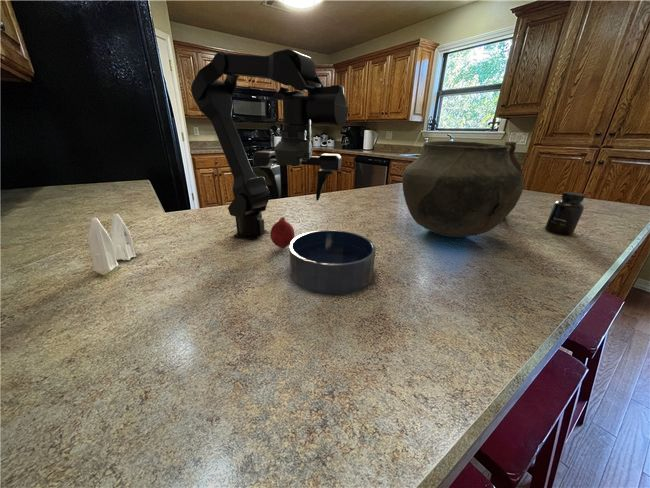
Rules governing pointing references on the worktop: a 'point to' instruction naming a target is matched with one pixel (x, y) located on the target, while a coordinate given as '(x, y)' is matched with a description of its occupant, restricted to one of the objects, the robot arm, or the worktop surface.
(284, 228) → the onion
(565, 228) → the supplement bottle
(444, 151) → the pot
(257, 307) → the worktop surface
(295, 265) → the bowl
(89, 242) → the shaker set
